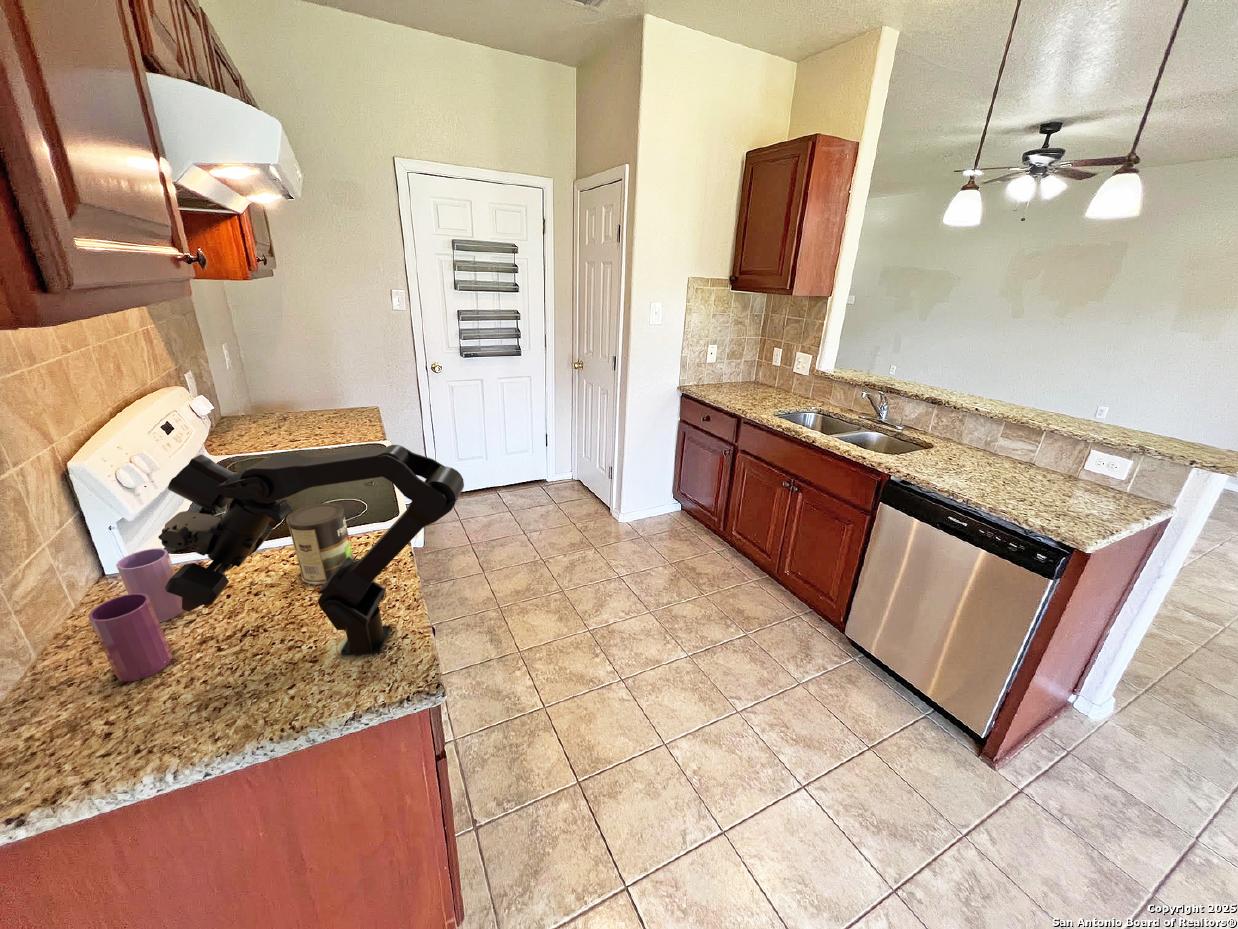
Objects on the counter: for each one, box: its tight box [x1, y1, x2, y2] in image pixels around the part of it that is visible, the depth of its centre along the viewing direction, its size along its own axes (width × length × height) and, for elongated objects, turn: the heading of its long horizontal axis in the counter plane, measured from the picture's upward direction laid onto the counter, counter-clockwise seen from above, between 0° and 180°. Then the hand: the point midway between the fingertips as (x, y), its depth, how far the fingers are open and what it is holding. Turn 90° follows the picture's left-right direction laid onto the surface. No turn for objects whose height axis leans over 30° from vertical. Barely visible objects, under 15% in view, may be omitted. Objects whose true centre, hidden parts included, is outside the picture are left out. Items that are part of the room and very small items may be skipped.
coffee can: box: [285, 502, 355, 586], centre depth 104 cm, size 10×10×14 cm
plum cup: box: [87, 593, 173, 683], centre depth 78 cm, size 7×7×12 cm
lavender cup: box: [115, 547, 185, 624], centre depth 91 cm, size 7×7×12 cm
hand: (203, 590), depth 81 cm, fingers open, 9 cm apart
